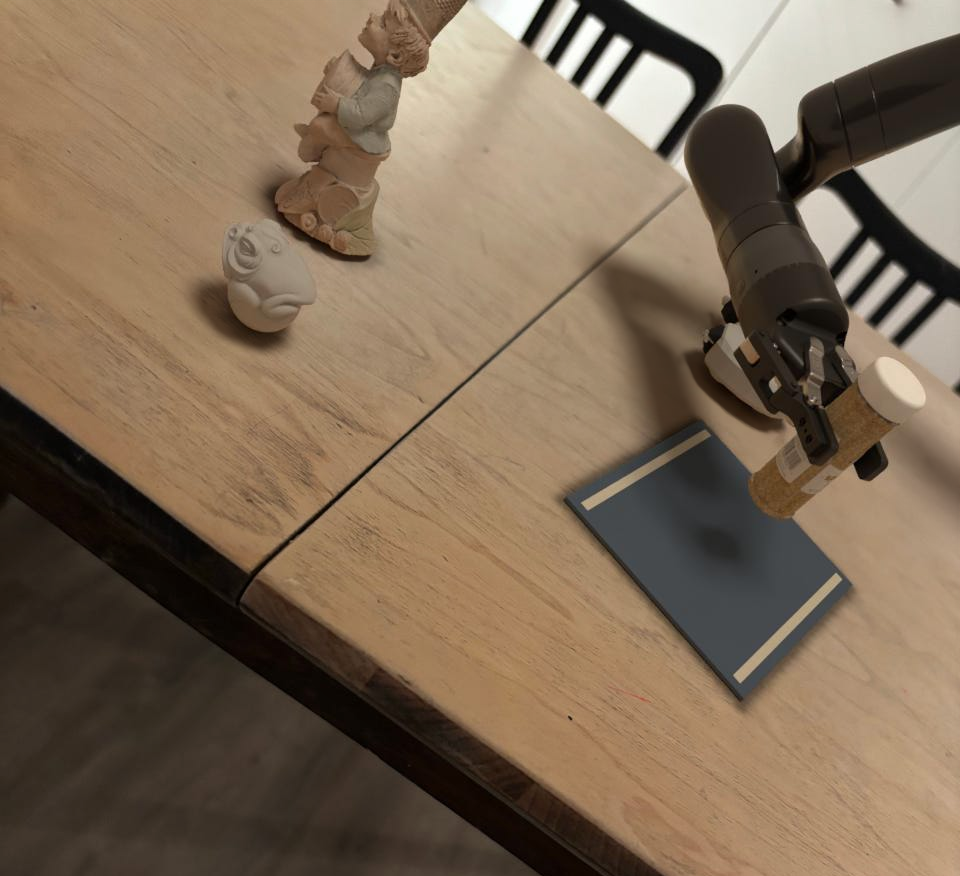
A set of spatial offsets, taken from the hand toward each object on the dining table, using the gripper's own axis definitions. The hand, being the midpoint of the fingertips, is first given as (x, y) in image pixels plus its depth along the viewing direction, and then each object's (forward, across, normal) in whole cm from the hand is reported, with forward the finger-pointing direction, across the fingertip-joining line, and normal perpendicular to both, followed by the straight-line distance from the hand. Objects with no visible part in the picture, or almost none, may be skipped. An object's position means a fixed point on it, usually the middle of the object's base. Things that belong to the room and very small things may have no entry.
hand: (850, 465), depth 69 cm
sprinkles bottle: (-3, 0, +8) cm, 8 cm away
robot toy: (-26, +11, +14) cm, 32 cm away
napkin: (-3, 0, +14) cm, 14 cm away
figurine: (-27, -33, +14) cm, 45 cm away
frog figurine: (-14, -39, +14) cm, 43 cm away
